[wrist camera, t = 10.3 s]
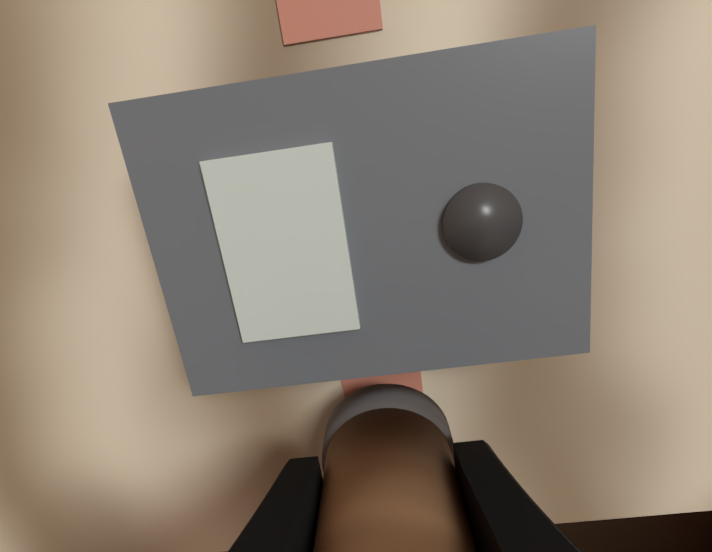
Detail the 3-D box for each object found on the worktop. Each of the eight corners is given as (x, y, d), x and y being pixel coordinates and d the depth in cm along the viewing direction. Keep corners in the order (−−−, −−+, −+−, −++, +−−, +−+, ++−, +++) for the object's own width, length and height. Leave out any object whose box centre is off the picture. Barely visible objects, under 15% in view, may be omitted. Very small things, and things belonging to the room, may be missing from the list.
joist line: (369, -88, 8) (369, -93, 8) (437, 529, 13) (438, 535, 13) (266, -68, 8) (263, -73, 8) (369, 534, 13) (369, 540, 13)
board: (829, -151, 8) (887, -187, 8) (738, 478, 13) (768, 505, 12) (-277, 50, 10) (-344, 41, 9) (-21, 545, 15) (-48, 574, 14)
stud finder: (523, 60, 9) (601, 22, 6) (528, 292, 10) (594, 357, 7) (187, 113, 9) (101, 102, 6) (239, 327, 11) (189, 400, 8)
